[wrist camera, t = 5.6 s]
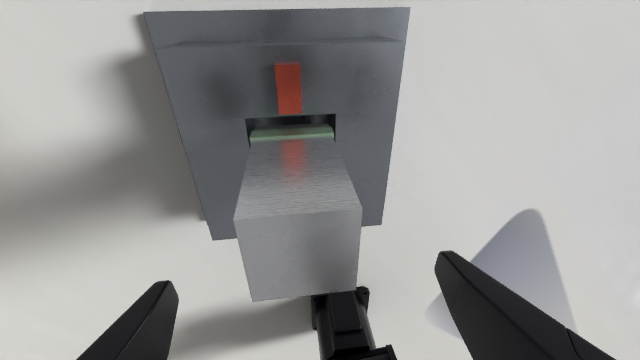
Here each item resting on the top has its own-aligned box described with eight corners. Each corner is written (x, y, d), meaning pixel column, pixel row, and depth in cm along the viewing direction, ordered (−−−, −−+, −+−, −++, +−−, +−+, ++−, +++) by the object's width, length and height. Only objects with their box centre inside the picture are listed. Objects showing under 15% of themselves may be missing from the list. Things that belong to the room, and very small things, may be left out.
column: (328, 184, 18) (358, 291, 11) (262, 189, 17) (250, 303, 10) (328, 120, 15) (365, 205, 9) (253, 125, 15) (228, 217, 8)
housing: (380, 204, 25) (401, 243, 20) (209, 218, 23) (193, 264, 19) (405, 7, 17) (446, 5, 13) (149, 11, 15) (98, 11, 11)
